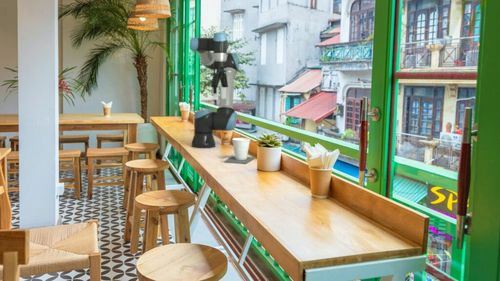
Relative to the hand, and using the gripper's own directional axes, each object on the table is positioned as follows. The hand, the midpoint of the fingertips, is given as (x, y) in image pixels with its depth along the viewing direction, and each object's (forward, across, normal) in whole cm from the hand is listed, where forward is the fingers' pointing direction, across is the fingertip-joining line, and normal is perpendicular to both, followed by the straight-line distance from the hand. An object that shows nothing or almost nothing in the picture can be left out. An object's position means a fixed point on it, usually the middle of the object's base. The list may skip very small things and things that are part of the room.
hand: (219, 99), depth 260 cm
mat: (+32, -14, -17) cm, 39 cm away
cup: (+31, -14, -18) cm, 39 cm away
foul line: (+32, -13, -10) cm, 36 cm away
